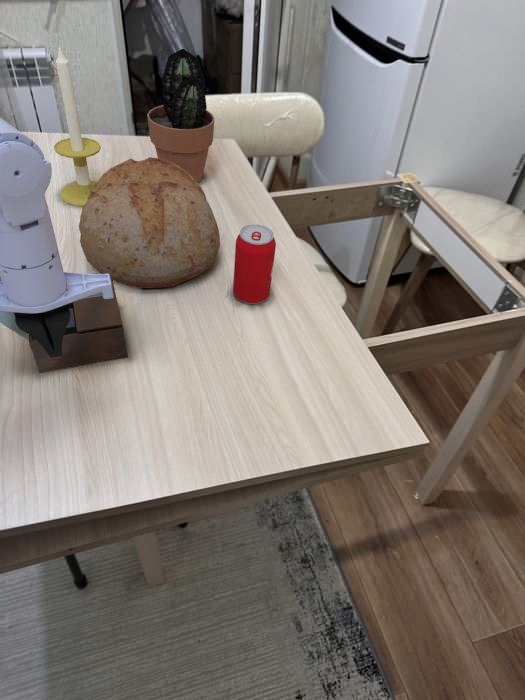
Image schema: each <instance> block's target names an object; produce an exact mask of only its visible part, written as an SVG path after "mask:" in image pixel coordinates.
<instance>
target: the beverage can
mask: <svg viewBox="0 0 525 700" xmlns="http://www.w3.org/2000/svg"><path fill="white" fill-rule="evenodd" d="M276 247H277V241H276V239H275V237H274V232H273V230H271V228H269V227H267V226H265V225H262V224H255V223H254V224H247V225H245V226H242V228H241V229H240V231H239V234H238V235H237V237H236V238H235V247H234V250H235V251H234V265H233V266H234V267H233V283H232V293H233V295H234V297H235V298H236V299H237V300H238V301H240V302H242V303H245V304H249V305H256V304H260V303H263V302H265V301H266V300H268V299H269V297H270V295H271V289H272V280H273V270H274V265H275V256H276Z"/></svg>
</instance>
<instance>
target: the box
mask: <svg viewBox="0 0 525 700" xmlns="http://www.w3.org/2000/svg"><path fill="white" fill-rule="evenodd" d="M110 280H111V284H112V290H113V296H114V298H110V299H103V296H97V297H90V298H83V299H79V300H77V301H74V302H71V303H69V307H70V309H71V308H73V310H74V314H75V320H76V327H77V332H79V333H74V334H68V335H64V336H63V341H62V352H63V355H62V356H59V357H53V358H50V357H49V355H48V353H47V352H46V351H45V349H44V348H43V347H42V346H41V345H40V344H39V343H38V342H37V341H36V340H35V339H34V338H33V337H32V336H30V335H29V334H28V345H29V348H30V350H31V354H32V357H33V358H34V361H35V365H36V368H37V370H38V373H39V374H42V373H43V374H44V373H47V372H53V371H60V370H65V369H70V368H71V369H72V368H75V367H76V368H77V367H81V366H88V365H92V364H93V365H94V364H99V363H104V362H110V361H114V360H120V359H126V358H127V359H128V355H129V354H128V349H127V343H126V335H125V329H124V324H123V319H122V315H121V311H120V307H119V303H118V298H117V294H116V289H115V284H114V280H112V277H111V275H110Z"/></svg>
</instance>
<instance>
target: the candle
mask: <svg viewBox="0 0 525 700" xmlns="http://www.w3.org/2000/svg"><path fill="white" fill-rule="evenodd" d="M55 65H56V70H57V75H58V76H57V77H58V81H59V87H60V91H61V98H62V102H63V108H64V113H65V119H66V124H67V130H68V135H69V137H67V138H64V139H61V140H59V141H56V143H55V144H54V145H53V149H54V152H55V153H56V154H58V155H59V156H60V157H64V158H67V159H68V158H69V159H72V162H73V166H74V171H75V172H74V173H75V177H76V182H73V183H70V184H67V185H66V186H64V187H63V188H62V189H61V191H60V193H59V196H60V199H61V200H62V201H63V202H64V203H66V204H67V205H71V206H73V207H83V205H84V204H85V203H86V202H87V200H88V196H89V194H90V192H91V189H92V188H93V186H94V185H95V183H96V182H97V181H91V177H90V172H89V165H88V160H87V158H89V157H94V156H95V155H96V154H99V153H100V151H101V148H102V146H101V144H100V142H98V140H97V141H96V140H95V139H92V138H88V137H83V136H82V130H81V123H80V119H79V112H78V107H77V99H76V95H75V89H74V84H73V83H74V82H73V78H72V72H71V66H70V61H69V59H67V58H66V55H65V54H64V51H63V49H62V48H61V45H60V43H59V44H58V54H57V58H56V60H55Z"/></svg>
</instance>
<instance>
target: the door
mask: <svg viewBox="0 0 525 700" xmlns="http://www.w3.org/2000/svg"><path fill="white" fill-rule="evenodd" d="M0 281H2V280H1V277H0ZM0 324H2V325H3V326H5V327H7V328H8V329H10V330H11V331H12V332H14V333H15V334H16V335H19V336H20V337H21V338H22V339H24V340H27V339H29V335H28V334H27V333H26V332H24V331H22V330H20V329H19V328H18V326H17V325H16V323H15V315H14V312H5V311H0Z"/></svg>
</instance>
